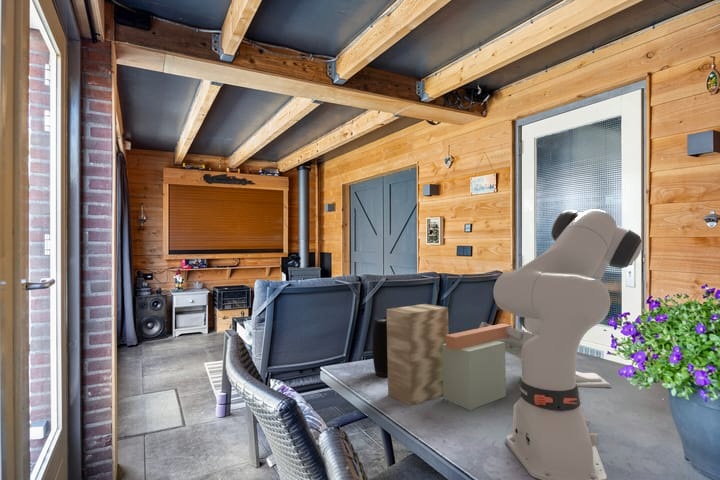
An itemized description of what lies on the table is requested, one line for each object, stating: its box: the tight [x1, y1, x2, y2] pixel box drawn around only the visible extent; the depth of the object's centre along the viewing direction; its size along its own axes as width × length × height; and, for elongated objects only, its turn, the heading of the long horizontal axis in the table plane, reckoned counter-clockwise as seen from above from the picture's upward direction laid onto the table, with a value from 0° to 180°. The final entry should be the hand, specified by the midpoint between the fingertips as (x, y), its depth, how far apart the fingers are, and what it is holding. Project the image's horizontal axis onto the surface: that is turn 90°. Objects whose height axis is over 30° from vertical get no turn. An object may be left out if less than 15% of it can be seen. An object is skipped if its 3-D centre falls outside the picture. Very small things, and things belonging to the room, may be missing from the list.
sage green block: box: [442, 340, 507, 411], centre depth 119 cm, size 16×10×16 cm, turn 125°
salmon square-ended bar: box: [445, 323, 513, 350], centre depth 121 cm, size 26×4×4 cm, turn 125°
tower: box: [386, 303, 449, 406], centre depth 123 cm, size 16×10×26 cm, turn 125°
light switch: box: [576, 370, 612, 388], centre depth 131 cm, size 11×4×13 cm
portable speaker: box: [371, 316, 388, 378], centre depth 142 cm, size 9×9×20 cm
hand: (495, 326), depth 125 cm, fingers open, 8 cm apart
